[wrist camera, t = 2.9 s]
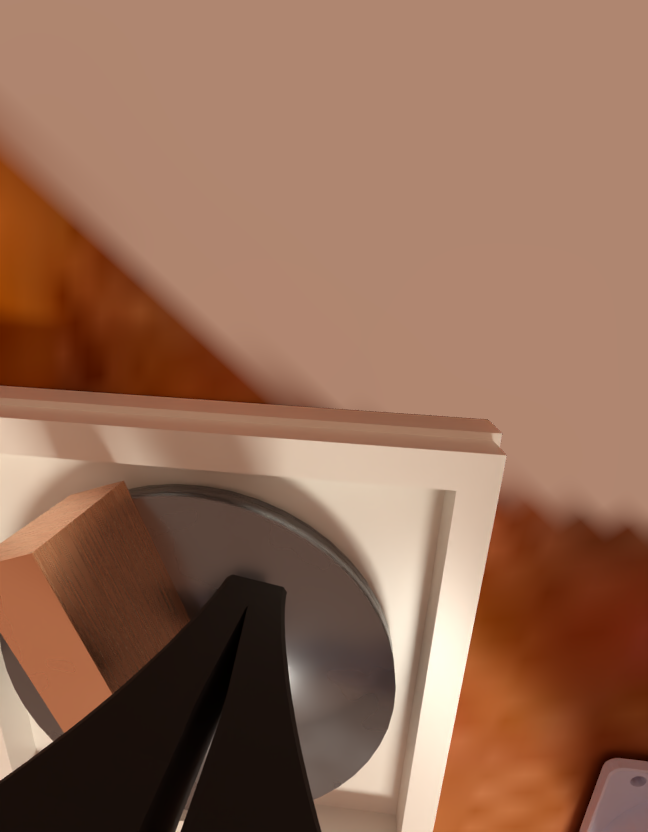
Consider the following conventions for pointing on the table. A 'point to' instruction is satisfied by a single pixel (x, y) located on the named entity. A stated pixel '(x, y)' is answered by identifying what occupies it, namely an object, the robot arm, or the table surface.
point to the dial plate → (316, 506)
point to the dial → (190, 610)
